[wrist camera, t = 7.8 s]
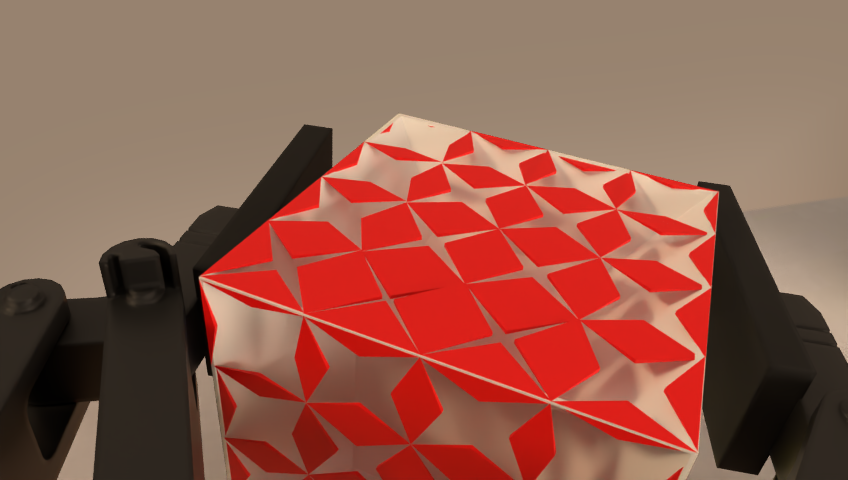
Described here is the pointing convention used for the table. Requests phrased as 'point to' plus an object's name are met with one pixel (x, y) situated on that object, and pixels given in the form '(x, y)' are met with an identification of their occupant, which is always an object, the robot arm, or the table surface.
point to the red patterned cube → (466, 318)
